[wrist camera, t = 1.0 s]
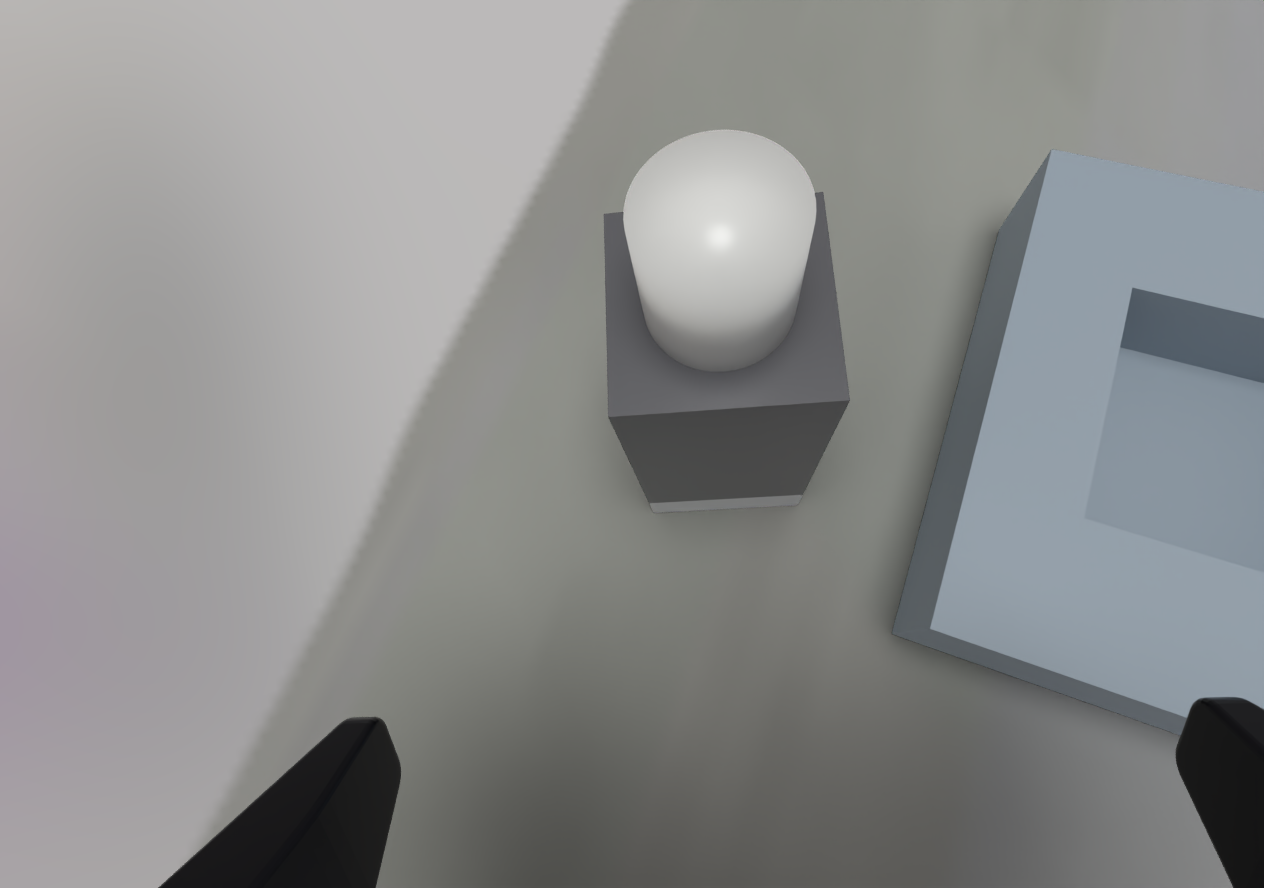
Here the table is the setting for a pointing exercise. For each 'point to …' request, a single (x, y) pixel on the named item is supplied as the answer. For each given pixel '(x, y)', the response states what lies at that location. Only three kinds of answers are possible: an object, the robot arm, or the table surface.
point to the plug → (722, 325)
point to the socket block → (1107, 449)
